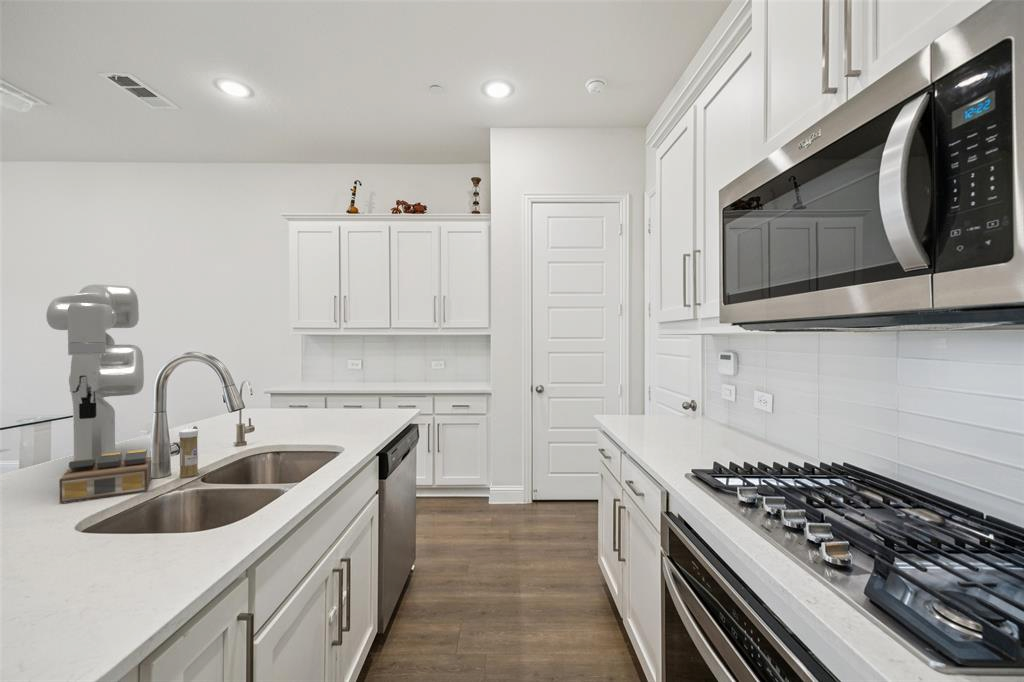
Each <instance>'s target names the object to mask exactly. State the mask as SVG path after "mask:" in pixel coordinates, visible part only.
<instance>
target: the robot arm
mask: <svg viewBox="0 0 1024 682" xmlns="http://www.w3.org/2000/svg"><path fill="white" fill-rule="evenodd" d="M138 299H139V298H138V295H137V292H136V291H135V290H134V289H133V288H132V287H130V286H128V285H127V286H126V285H114V284H113V285H112V284H89V285H86V286H84V287H82V289H80V291H79V292H78V293H75V294H69V295H63V296H58V297H56V298H53V299H52V300H51V302H50V303H49V304H48V307H47V309H46V314H45V316H46V317H45V318H46V322H47V324H48V325H49V327H50V328H51V329H53V330H57V331H67V356H71V360H70V361H71V362H70V374H69V376H68V384H69V392H70V393H71V394H70V395H71V400H72V409H73V410H72V411H73V412H72V413H73V461H74V460H81V459H90V458H96V463H98V460H99V458H100V456H101V454H109V453H116V412H115V409H114V407H113V405H112V404H110V402H108V401H107V400H105V398H107V397H121V396H122V397H123V396H133V395H137V394H140V393H141V391H142V390H143V388H144V384H145V383H144V381H145V375H144V374H145V373H144V355H143V352H142V351H143V350H141V348H140V347H139V346H137V345H135V344H115V343H116V342H115V339H114V338H113V337H112V335H110V334H109V333H107V331H108V330H110V329H131V328H135V327H136V326H137V324H138V322H139V320H140V313H139V310H140V309H139V300H138ZM69 469H70V468H69V467H68V468H67V469H66V472H67V471H68V470H69Z"/></svg>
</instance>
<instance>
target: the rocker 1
mask: <svg viewBox="0 0 1024 682" xmlns="http://www.w3.org/2000/svg"><path fill="white" fill-rule="evenodd" d="M94 464H96V458H90V459H81V460H74V459H73V460H72V461H69V462H68V468H71V470H73V469H82V468H91V467H94Z"/></svg>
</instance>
